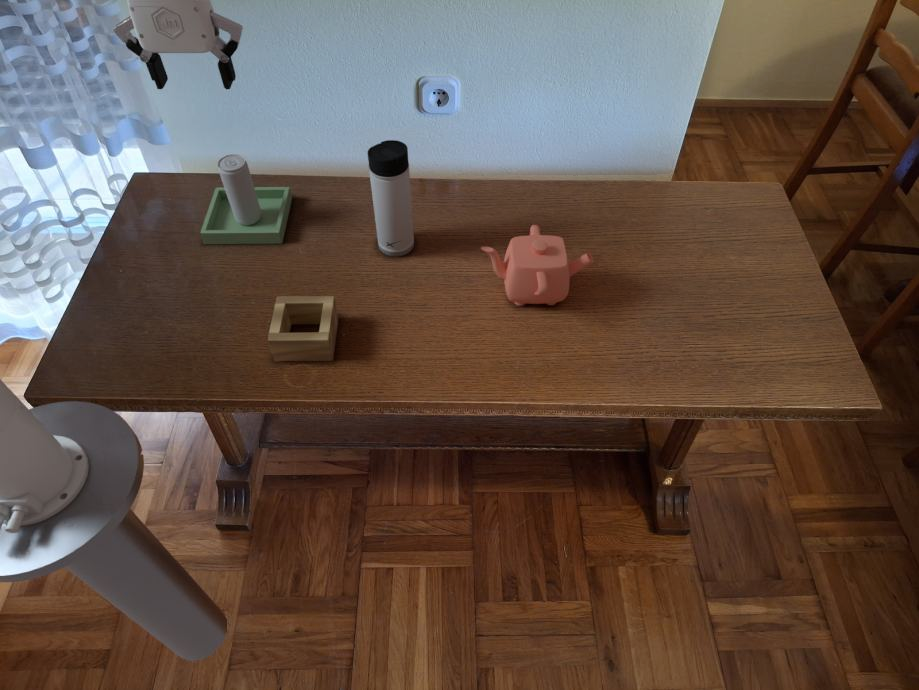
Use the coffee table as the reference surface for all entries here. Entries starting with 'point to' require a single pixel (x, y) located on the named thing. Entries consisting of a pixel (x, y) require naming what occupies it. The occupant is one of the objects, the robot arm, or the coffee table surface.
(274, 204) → the tray
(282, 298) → the holder
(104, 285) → the coffee table surface
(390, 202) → the travel mug
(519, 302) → the teapot
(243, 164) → the beverage can
